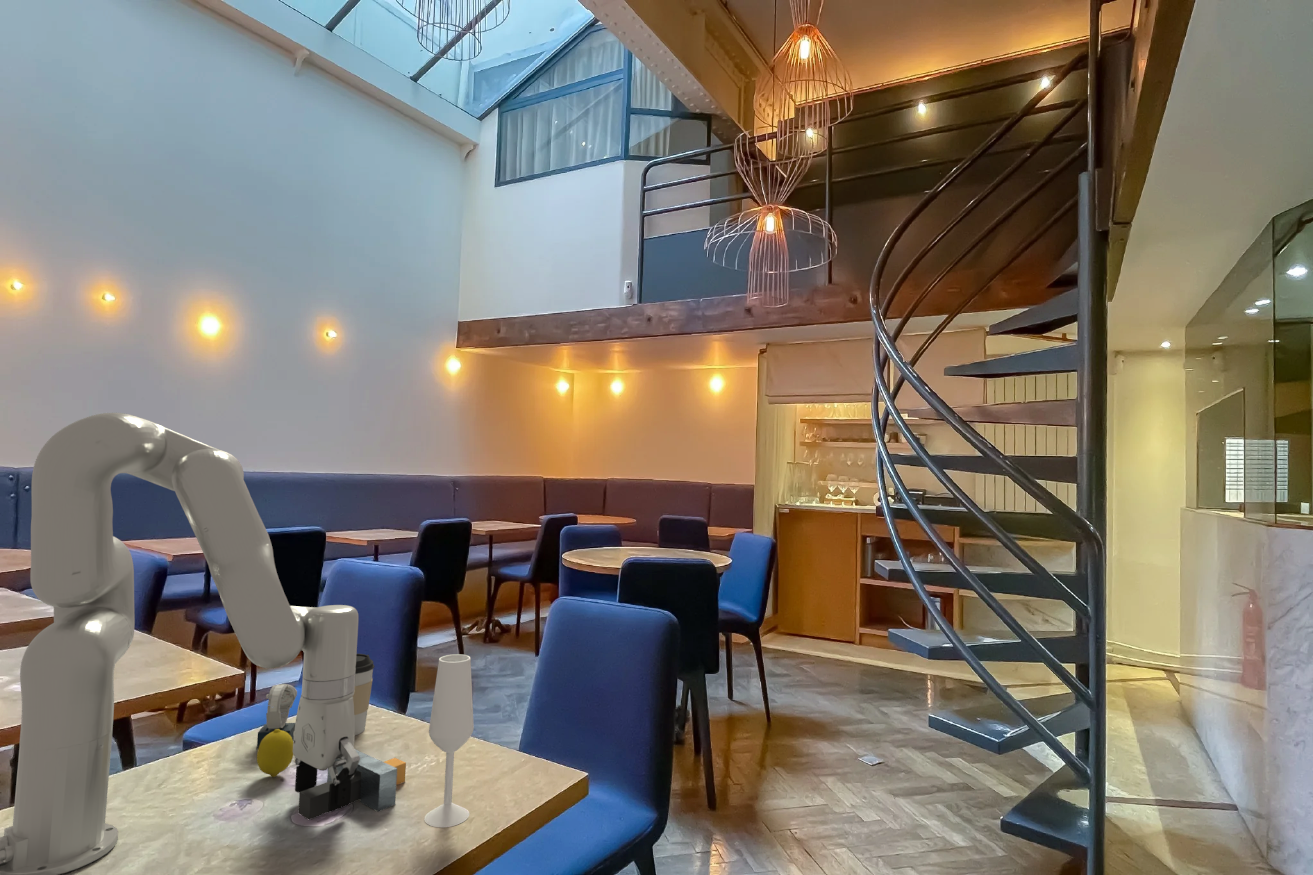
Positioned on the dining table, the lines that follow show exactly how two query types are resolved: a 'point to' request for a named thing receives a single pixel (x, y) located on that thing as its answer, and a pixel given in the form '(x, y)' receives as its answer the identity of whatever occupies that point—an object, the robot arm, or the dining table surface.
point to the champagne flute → (451, 728)
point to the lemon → (275, 752)
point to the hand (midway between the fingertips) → (321, 798)
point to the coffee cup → (362, 691)
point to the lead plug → (318, 797)
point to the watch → (278, 711)
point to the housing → (375, 782)
